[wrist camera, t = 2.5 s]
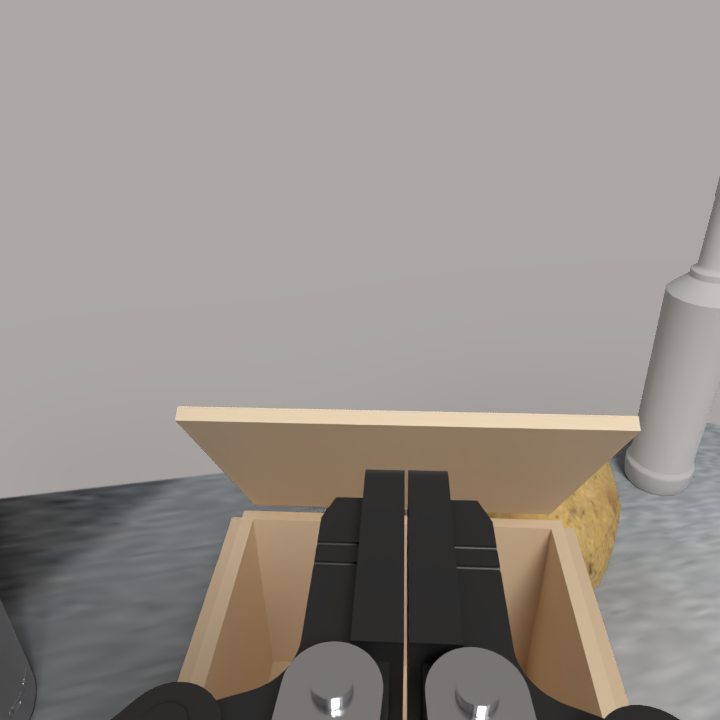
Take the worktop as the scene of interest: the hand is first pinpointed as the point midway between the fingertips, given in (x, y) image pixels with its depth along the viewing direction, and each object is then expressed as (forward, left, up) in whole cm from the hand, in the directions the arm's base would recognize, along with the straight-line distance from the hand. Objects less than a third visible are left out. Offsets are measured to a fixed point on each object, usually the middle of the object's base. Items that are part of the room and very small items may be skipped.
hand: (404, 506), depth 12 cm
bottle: (+21, +33, -27) cm, 47 cm away
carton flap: (0, +12, -9) cm, 15 cm away
